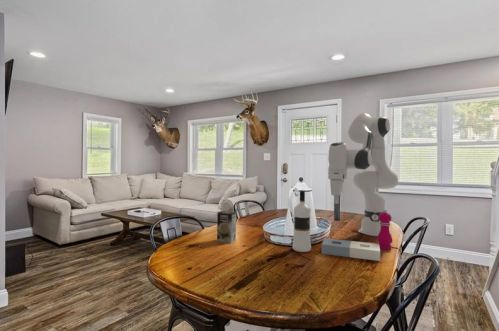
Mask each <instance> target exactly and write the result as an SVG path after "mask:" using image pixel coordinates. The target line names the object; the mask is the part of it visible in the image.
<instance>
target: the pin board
mask: <svg viewBox="0 0 499 331" xmlns="http://www.w3.org/2000/svg"><path fill="white" fill-rule="evenodd" d="M321 254H323V255H331V256H337V257H347V258H354V259H360V260H361V259H362V260H370V261H378V262H381V249H380V246H379V243H375V242H374V243H373V242H364V241H356V240H354V241H353V240H345V239H337V238H335V239H334V238H326V237H325V238H323V241H322V243H321Z"/></svg>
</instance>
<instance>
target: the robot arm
mask: <svg viewBox="0 0 499 331" xmlns="http://www.w3.org/2000/svg"><path fill="white" fill-rule="evenodd" d="M390 127H391V123H390V120H389V118H387V117H386V116H378V117H377V116H376V117H372V116H371V115H370V114H368V113H363V112H362V113H359V114H358V115H357V116H356V117H355V118H354V119H353V121H351V123H350V126H349V127H348V130H347V135H348V137H349V139H350V140H351V141H353V143H356V144H362V148H358V149H348V148H347V143H345V142H342V141H339V142H333V143H331V144H329V150H328V159H327V160H328V169H327V170H328V171H327V172H328V174H327V178H328V180H329V183H330V184H329V185H330V193H331V196H333V200H334V199H335V204H338V203H339V195H340V194H341V195H342V193H343V187H344V186H343V183H345V180H347V179H348V178H347V177H348V169H349V170H351V169H353V170H354V169H355V170H362V171H357V172H356V173H355V174H354V175H353V180H352V181H353V184H354V185H355V187H356V188H358V189H359V190H360V191H361V193H362V194H363V197H364V205H365V207H364V209H365V210H364V213H363V214H364V217H363V218H362V219H361V223H360V224H361V228H360V229H358V233H362V234H364V235H367V236H372V237H377V236H378V234H379V232H380V229H381V225H380V220H379V215H380V214H381V213H384V212H383V210H386V209H385V206H386V200H385V198H384V197H383V196H382V195H380V194H379V193H377V192H376V191H375V190H377V189H378V190H379V189H381V190H389V189H393V188H395V187H397V185H398V183H399V178H398V175H397V174H396V173H395V171H393V170H392V169H391V168H390V166H389V165H388V164H387V160H386V145H385V142H386V141H385V136H386V135H387V134H388V133H389V131H390V129H391V128H390ZM370 166H372V167H374V168H375V170H367V169H369V167H370ZM390 234H391V235H392V233H391V232H390Z"/></svg>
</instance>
